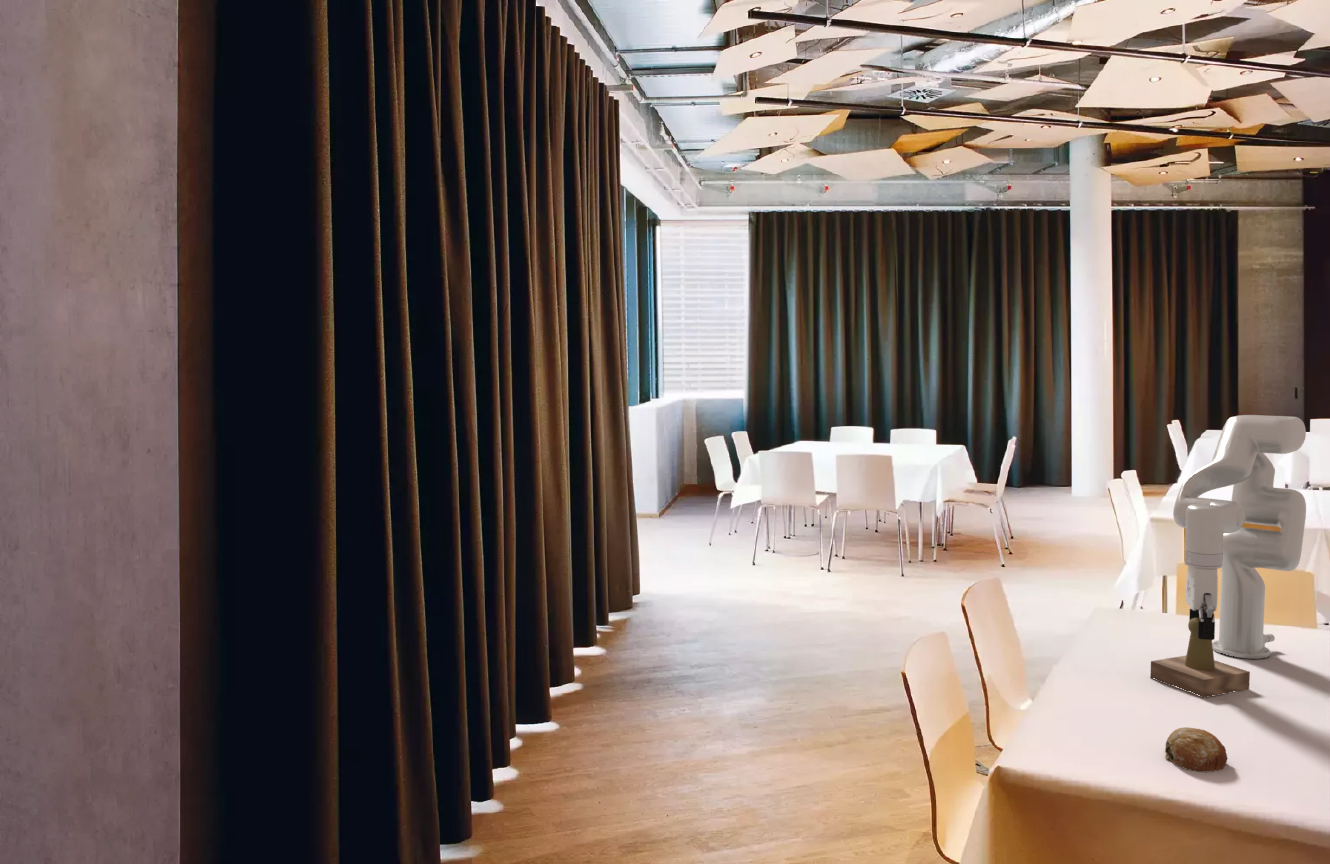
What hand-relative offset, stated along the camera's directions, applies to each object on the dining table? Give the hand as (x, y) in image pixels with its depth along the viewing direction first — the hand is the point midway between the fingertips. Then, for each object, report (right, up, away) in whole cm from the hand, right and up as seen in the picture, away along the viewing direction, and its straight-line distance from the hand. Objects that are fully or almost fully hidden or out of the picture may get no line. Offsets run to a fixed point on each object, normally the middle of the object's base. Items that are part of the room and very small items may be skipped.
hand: (1201, 632), depth 218 cm
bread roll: (-24, -16, -41) cm, 50 cm away
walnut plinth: (0, -12, 0) cm, 12 cm away
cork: (0, -8, 0) cm, 8 cm away
